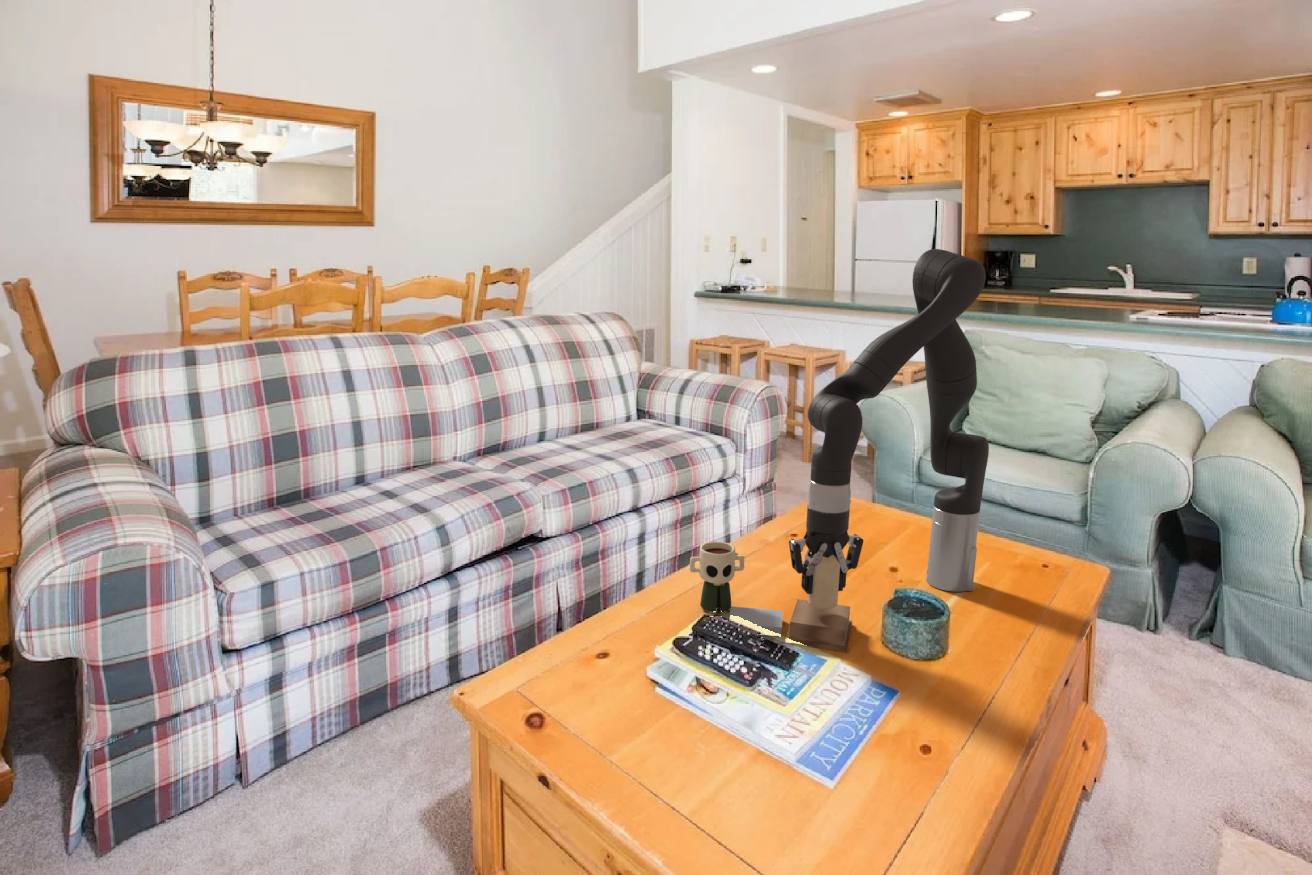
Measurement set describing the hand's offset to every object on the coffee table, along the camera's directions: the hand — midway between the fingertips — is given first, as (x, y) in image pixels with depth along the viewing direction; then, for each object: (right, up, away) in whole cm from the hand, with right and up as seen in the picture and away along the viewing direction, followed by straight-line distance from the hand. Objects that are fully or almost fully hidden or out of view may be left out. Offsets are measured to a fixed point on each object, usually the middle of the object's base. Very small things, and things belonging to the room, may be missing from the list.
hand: (823, 590), depth 149 cm
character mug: (-19, -6, +12) cm, 23 cm away
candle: (0, -3, +1) cm, 3 cm away
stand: (0, -9, +2) cm, 9 cm away
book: (-12, -8, +5) cm, 15 cm away
